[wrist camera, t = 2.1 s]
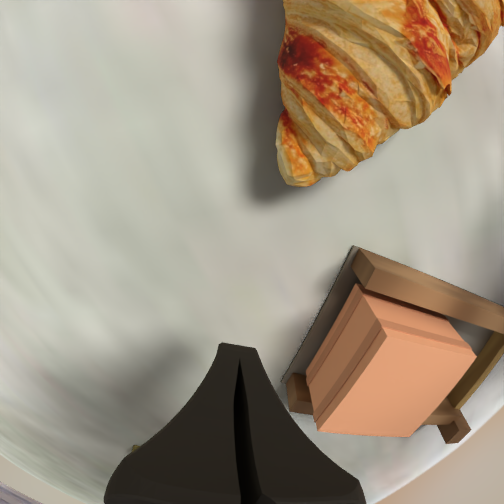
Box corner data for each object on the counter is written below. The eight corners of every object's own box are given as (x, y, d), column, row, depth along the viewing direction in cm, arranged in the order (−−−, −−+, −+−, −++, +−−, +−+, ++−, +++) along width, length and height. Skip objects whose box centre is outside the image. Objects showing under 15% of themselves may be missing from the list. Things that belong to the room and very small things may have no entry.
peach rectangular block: (439, 310, 16) (477, 356, 12) (387, 386, 18) (409, 437, 14) (355, 281, 15) (387, 335, 11) (304, 371, 17) (316, 431, 13)
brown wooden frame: (523, 299, 17) (551, 324, 13) (442, 413, 21) (458, 442, 17) (362, 224, 15) (391, 252, 11) (274, 392, 19) (278, 436, 15)
